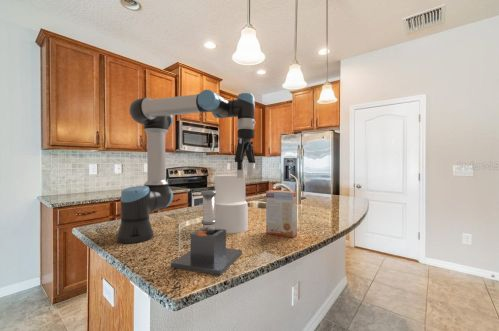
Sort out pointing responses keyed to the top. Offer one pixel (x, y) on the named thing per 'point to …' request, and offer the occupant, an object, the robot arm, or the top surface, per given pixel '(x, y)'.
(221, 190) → the cylinder
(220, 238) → the square socket stand
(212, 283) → the top surface
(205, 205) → the silver mushroom-headed rod
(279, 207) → the cracker box
